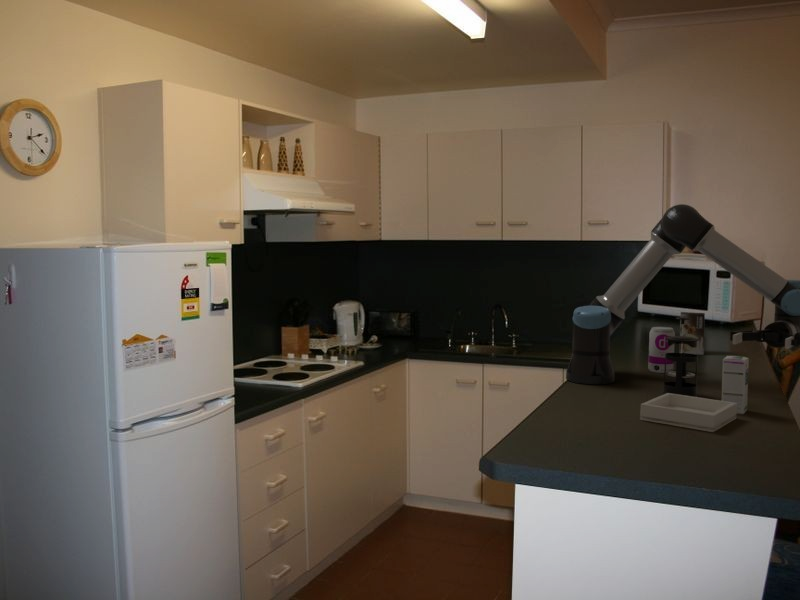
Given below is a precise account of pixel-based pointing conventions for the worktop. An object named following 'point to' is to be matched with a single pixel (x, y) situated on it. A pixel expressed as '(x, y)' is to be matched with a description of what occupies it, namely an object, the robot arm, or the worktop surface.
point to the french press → (681, 366)
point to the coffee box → (693, 332)
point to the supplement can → (660, 349)
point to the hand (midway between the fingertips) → (759, 341)
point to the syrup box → (735, 381)
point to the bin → (689, 412)
